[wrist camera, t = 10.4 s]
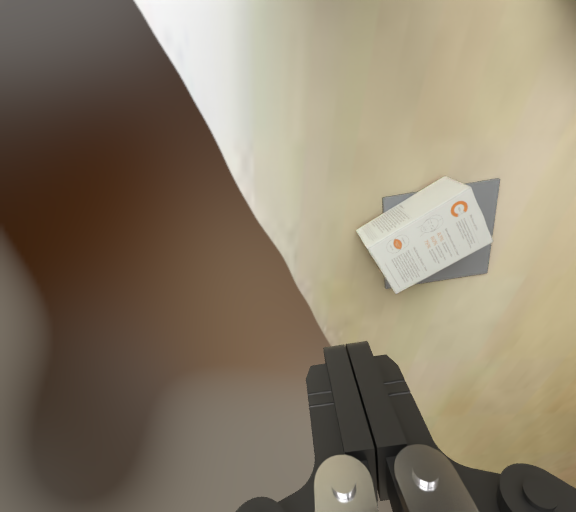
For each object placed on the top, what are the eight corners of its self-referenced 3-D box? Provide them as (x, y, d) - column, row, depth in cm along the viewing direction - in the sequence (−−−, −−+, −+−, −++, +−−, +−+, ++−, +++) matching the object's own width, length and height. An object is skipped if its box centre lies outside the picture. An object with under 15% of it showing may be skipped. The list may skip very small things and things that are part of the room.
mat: (382, 197, 41) (383, 198, 41) (498, 178, 41) (500, 179, 41) (384, 287, 48) (385, 288, 47) (485, 271, 47) (487, 273, 47)
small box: (381, 271, 46) (467, 223, 43) (395, 295, 40) (495, 242, 37) (354, 228, 43) (445, 174, 40) (366, 248, 37) (472, 186, 34)
